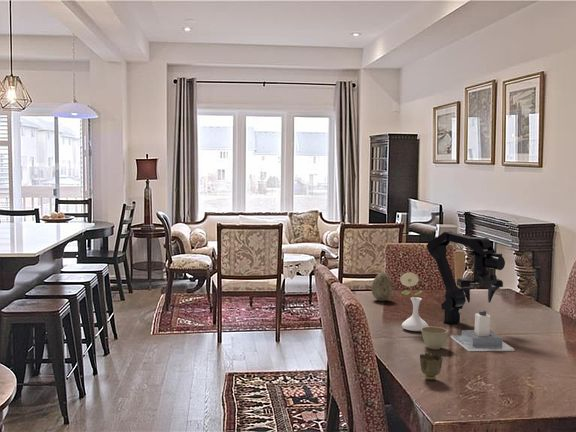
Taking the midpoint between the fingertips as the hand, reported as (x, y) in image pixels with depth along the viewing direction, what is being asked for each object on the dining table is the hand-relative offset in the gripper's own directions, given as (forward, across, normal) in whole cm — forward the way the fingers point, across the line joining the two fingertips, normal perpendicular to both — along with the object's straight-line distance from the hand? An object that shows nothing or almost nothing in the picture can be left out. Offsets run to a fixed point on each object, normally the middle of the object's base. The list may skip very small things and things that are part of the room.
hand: (479, 302), depth 274 cm
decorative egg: (+12, -28, +58) cm, 66 cm away
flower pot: (+12, -28, -26) cm, 41 cm away
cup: (+12, -42, -62) cm, 76 cm away
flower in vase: (+12, -29, +1) cm, 31 cm away
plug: (+11, -7, -22) cm, 25 cm away
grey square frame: (+12, -7, -22) cm, 26 cm away
